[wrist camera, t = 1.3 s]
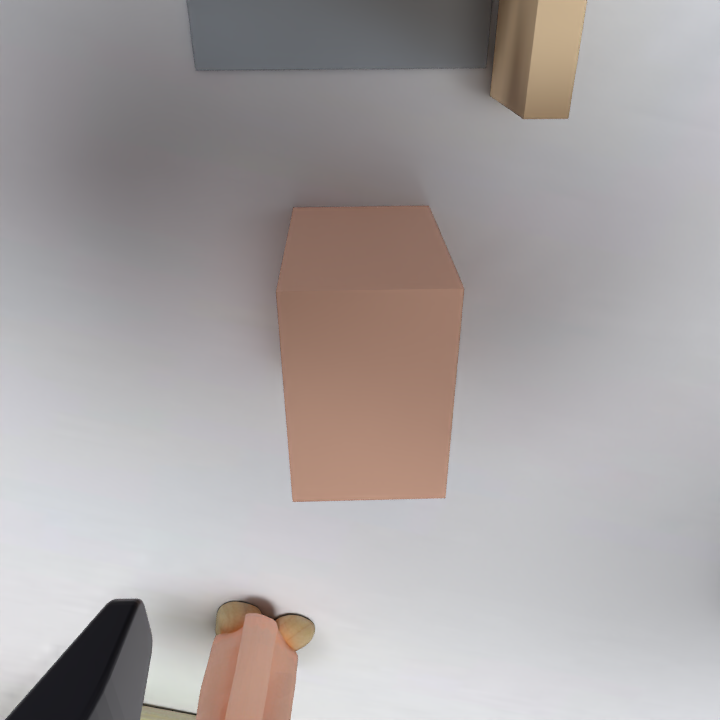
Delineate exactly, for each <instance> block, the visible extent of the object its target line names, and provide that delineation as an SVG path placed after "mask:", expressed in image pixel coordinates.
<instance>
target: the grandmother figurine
mask: <svg viewBox="0 0 720 720" xmlns="http://www.w3.org/2000/svg"><path fill="white" fill-rule="evenodd" d="M215 631H216V636H215V639H214V641H213V645H212V648H211V653H210V657H209V660H208V664H207V668H206V671H205V675H204V678H203V682H202V686H201V690H200V696H199V703H198V709H197V715H196V720H290V718H291V711H292V703H293V697H294V690H295V682H296V671H297V661H298V656H297V654H296V652H295V651H297V650H299V649H300V648H302V647H304V646H305V645H307V644H308V643H309V642H310V641H311V639H312V637H313V635H314V632H315V627H314V624H313V623H312V622H311V621H310V620H308V619H306V618H304V617H301V616H298V615H286V616H282V617H280V618H278V619H277V620H275V621H274V620H273V619H272V618H269V617H267V616H264V615H262V613H261V611H260V610H259V609H258V608H257V607H255V606H254V605H251V604H248V603H243V602H235V601H234V602H228V603H226V604H223V605H222V606H221V607H220V608H219V610H218V612H217V618H216V628H215Z"/></svg>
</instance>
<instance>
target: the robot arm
mask: <svg viewBox="0 0 720 720" xmlns="http://www.w3.org/2000/svg"><path fill="white" fill-rule="evenodd" d="M151 653H152V633H151V629H150V625H149V621H148V617H147V613H146V610H145V606H144V603H143V602H142V600H140V599H114V600H112V601H110V602H109V603H107V604H106V605H105V607H104V608H103V609H102V610H101V611H100V612H99V613H98V614H97V616H96V617H95V618H94V619H93V620H92V621H91V622H90V624H89V625H88V626H87V627H86V628H85V629H84V630H83V632H82V633H81V634H80V635H79V636H78V637H77V638H76V640H75V641H74V642H73V643H72V644H71V645H70V646H69V647H68V649H67V650H66V651H65V652H64V653H63V654H62V655H61V657H60V658H59V659H58V660H57V661H56V662H55V663H54V665H53V666H52V667H51V668H50V669H49V670H48V671H47V673H46V674H45V675H44V676H43V677H42V678H41V679H40V680H39V682H38V683H37V684H36V685H35V686H34V687H33V688H32V690H31V691H30V692H29V693H28V694H27V695H26V696H25V698H24V699H23V700H22V701H21V702H20V703H19V704H18V705H17V707H16V708H15V709H14V710H13V711H12V712H11V713H10V715H9V716H8V717H7V718H6V719H5V720H140V718H141V712H142V706H143V700H144V694H145V688H146V683H147V677H148V671H149V665H150V659H151Z"/></svg>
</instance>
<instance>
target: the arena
mask: <svg viewBox="0 0 720 720" xmlns="http://www.w3.org/2000/svg"><path fill="white" fill-rule="evenodd" d="M586 4H587V0H499V8H498V18H497V28H496V39H495V49H494V59H493V70H492V80H491V90H490V96H491V97H492V98H494V99H495V100H496V101H498V102H499V103H501V104H502V105H504V106H505V107H507V108H508V109H510V110H511V111H513V112H514V113H515V114H517V115H518V116H520V117H521V118H523V119H568V117H569V110H570V104H571V98H572V92H573V85H574V79H575V73H576V67H577V60H578V54H579V48H580V42H581V35H582V29H583V23H584V17H585V10H586ZM187 6H188V14H189V22H190V29H191V37H192V45H193V53H194V60H195V68H196V70H309V69H428V68H486V62H487V51H488V41H489V30H490V19H491V8H492V0H187Z"/></svg>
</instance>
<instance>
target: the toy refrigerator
mask: <svg viewBox="0 0 720 720" xmlns="http://www.w3.org/2000/svg"><path fill="white" fill-rule="evenodd" d="M140 720H196V715H191V714H186V713H180V712H175V711H169V710H164V709H159V708H153V707H148V706H142V712H141V718H140Z"/></svg>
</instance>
